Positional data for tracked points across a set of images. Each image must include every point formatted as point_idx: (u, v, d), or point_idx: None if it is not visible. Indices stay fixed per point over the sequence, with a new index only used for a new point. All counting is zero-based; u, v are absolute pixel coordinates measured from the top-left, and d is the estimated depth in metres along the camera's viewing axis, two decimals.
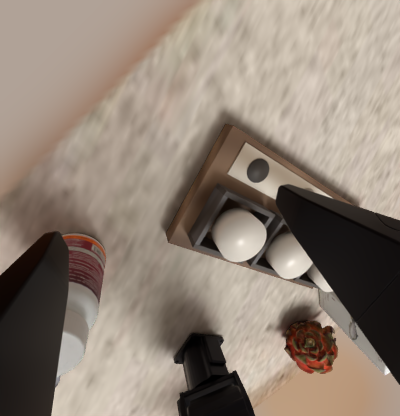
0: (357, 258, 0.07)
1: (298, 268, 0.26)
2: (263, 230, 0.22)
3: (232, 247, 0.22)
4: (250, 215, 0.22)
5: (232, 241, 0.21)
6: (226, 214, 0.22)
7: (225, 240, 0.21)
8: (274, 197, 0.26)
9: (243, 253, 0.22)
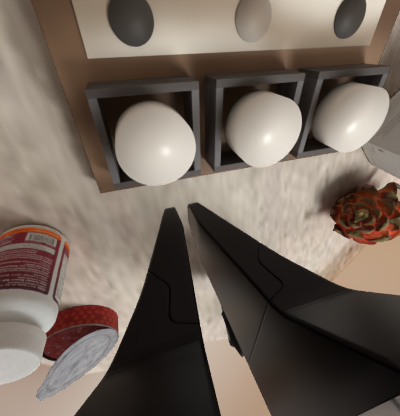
0: (237, 296, 0.06)
1: (280, 143, 0.16)
2: (176, 119, 0.13)
3: (149, 168, 0.15)
4: (143, 107, 0.13)
5: (141, 160, 0.14)
6: (117, 125, 0.14)
7: (129, 164, 0.14)
8: (195, 50, 0.15)
9: (173, 166, 0.15)
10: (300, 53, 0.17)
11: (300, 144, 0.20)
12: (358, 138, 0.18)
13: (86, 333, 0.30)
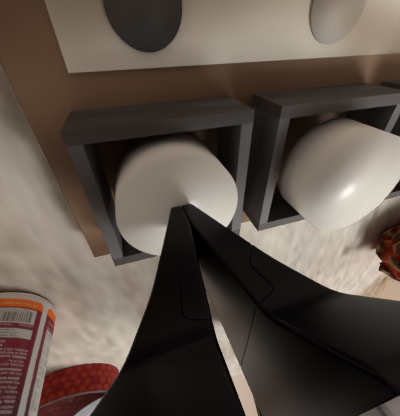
0: (228, 298, 0.06)
1: (367, 198, 0.11)
2: (213, 168, 0.08)
3: None
4: (160, 150, 0.08)
5: (155, 227, 0.09)
6: (117, 172, 0.09)
7: (137, 234, 0.09)
8: (244, 57, 0.09)
9: None
10: (389, 60, 0.12)
11: None
12: None
13: (80, 400, 0.25)
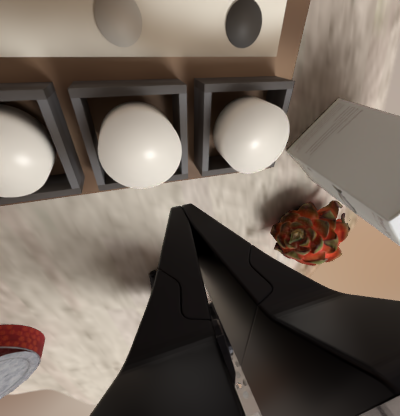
0: (228, 298, 0.06)
1: (159, 162, 0.14)
2: (8, 127, 0.12)
3: None
4: None
5: None
6: None
7: None
8: (51, 53, 0.13)
9: (24, 178, 0.14)
10: (192, 62, 0.16)
11: (203, 162, 0.18)
12: (260, 158, 0.17)
13: None
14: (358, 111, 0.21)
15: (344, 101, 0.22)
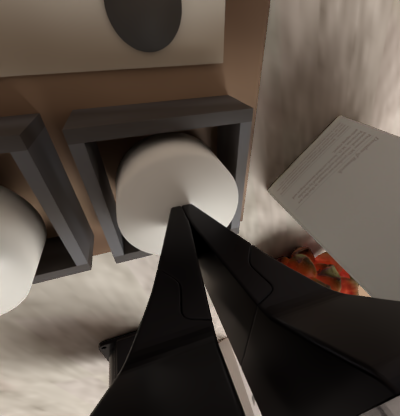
0: (229, 298, 0.06)
1: None
2: None
3: None
4: None
5: None
6: None
7: None
8: None
9: None
10: (60, 82, 0.08)
11: (110, 245, 0.11)
12: None
13: None
14: (371, 139, 0.13)
15: (348, 121, 0.15)
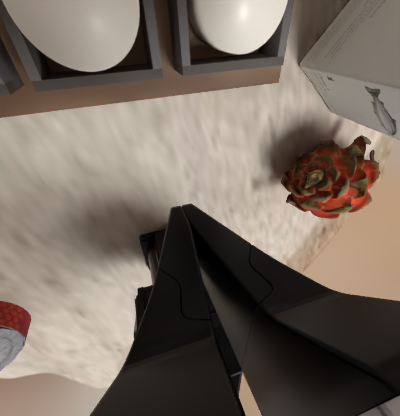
0: (228, 298, 0.06)
1: (106, 20, 0.09)
2: None
3: None
4: None
5: None
6: None
7: None
8: None
9: None
10: None
11: (181, 49, 0.13)
12: (252, 27, 0.12)
13: None
14: None
15: None
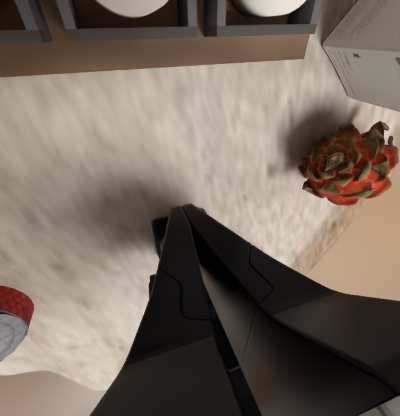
0: (229, 299, 0.06)
1: None
2: None
3: None
4: None
5: None
6: None
7: None
8: None
9: None
10: None
11: (218, 7, 0.12)
12: None
13: None
14: None
15: None
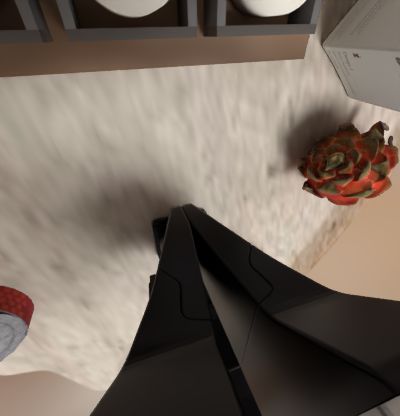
0: (229, 299, 0.06)
1: None
2: None
3: None
4: None
5: None
6: None
7: None
8: None
9: None
10: None
11: (218, 7, 0.12)
12: None
13: None
14: None
15: None
